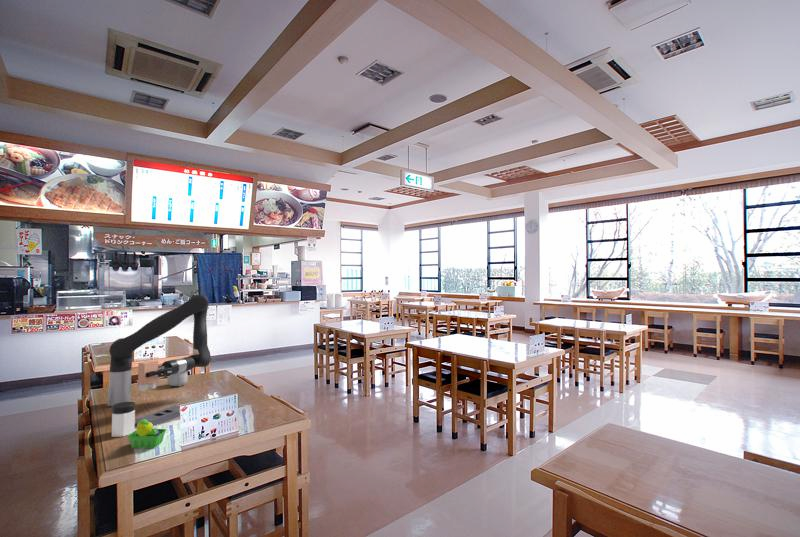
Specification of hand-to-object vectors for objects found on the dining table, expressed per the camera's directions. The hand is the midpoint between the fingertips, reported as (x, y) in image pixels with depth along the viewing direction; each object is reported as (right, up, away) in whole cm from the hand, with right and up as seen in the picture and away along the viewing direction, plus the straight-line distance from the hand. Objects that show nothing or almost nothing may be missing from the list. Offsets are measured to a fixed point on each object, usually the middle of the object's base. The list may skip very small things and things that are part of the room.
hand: (142, 374), depth 187 cm
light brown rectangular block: (+1, -8, +3) cm, 8 cm away
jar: (+4, -20, -19) cm, 28 cm away
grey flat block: (+10, -20, -1) cm, 23 cm away
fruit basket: (+21, -20, -30) cm, 42 cm away
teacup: (-13, -21, +53) cm, 58 cm away
